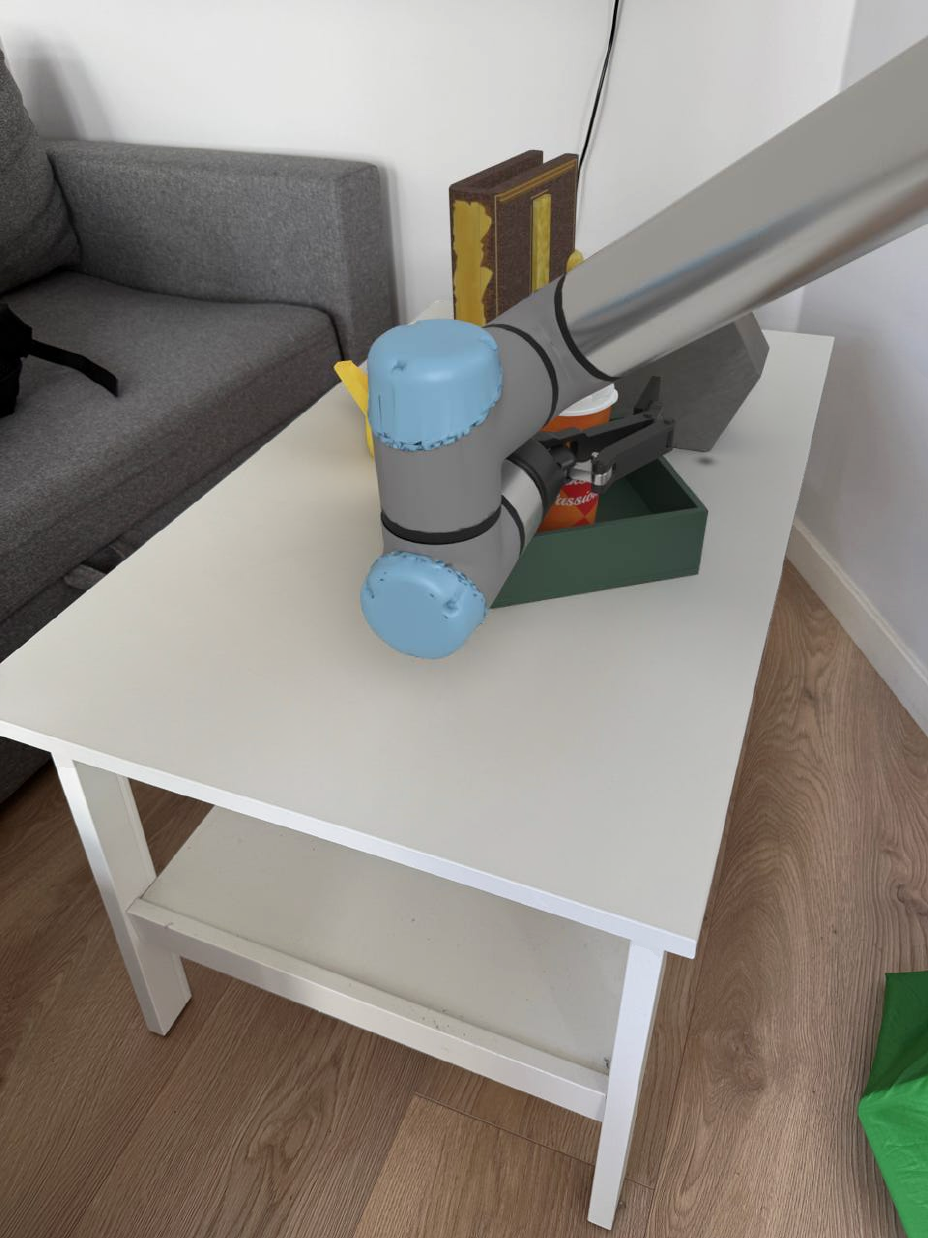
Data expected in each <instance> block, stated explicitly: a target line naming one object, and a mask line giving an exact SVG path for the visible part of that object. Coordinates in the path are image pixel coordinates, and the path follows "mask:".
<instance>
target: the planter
mask: <svg viewBox="0 0 928 1238" xmlns="http://www.w3.org/2000/svg"><path fill="white" fill-rule="evenodd" d="M769 351H770V346H769V343H768V341H767V339H766V337H765V335H764V333H763V331H762V329H761V327H760V324H759V323H758V320H757V318H756V316H755V314H754V311H753V312H751V313H749V314H747V315H745V316H743V317H741V318H739V319H737V320H735V321H733V322H731V323H729V324H727V325H725V326H723V327H721V328H719V329H717V330H715V331H713V332H711V333H709V334H707V335H705V336H703V337H701V338H699V339H697V340H695V341H693V342H691V343H689V344H687V345H685V346H683V347H681V348H679V349H677V350H675V351H673V352H671V353H669V354H667V355H665V356H663V357H661V358H659V359H657V360H655V361H653V362H651V363H649V364H647V365H645V366H643V367H641V368H639V369H637V370H635V371H633V372H631V373H630V374H628V375H626V376H625V377H623V378H622V379H620V380H618V381H616V382H614V383H613V384H614V389H615V390H616V391H617V393H618V399H617V401H616V402H615V403H613V404H612V405H611V410H610V415H615V414H622V413H628V414H629V415H630V416H632V415H633V412H634V407H635V405H636V403H637V401H638V400H639V398H640V396H641V394H642V393H643V391H644V389H645V387H646V386H647V384H648V382H649V381H650V379H651V377H652V376H658V377H661V380H660V390H659V400H658V401H662V402H663V404H664V405H663V414H662V419H664V418H671V419H674V420H675V421H676V424H675V433H674V441H673V448H677V449H685V450H691V451H695V452H696V451H698V452H704V453H707V452H710V451H711V450H712V449H713V448H714V446H715V444H716V443H717V441H718V440H719V439H720V437H721V436H722V434H723V433H724V431H725V430H726V428H727V427H728V426H729V424H730V423H731V421H732V420H733V418H734V417H735V416H736V414H737V412H738V411H739V410H740V409H741V407H742V405H743V403H745V401H746V399H747V398H748V396H749V395H750V394H751V392H752V391H753V389H754V388H755V387H756V385H757V383H758V382H759V380H760V379H761V378H762V374H763V370H764V368H765V365H766V361H767V358H768V355H769Z"/></svg>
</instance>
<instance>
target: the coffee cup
mask: <svg viewBox="0 0 928 1238" xmlns="http://www.w3.org/2000/svg"><path fill="white" fill-rule="evenodd" d="M617 399H618V393H617V391H616V390H615V389H614V384H611V385H609V386H607V387H605V388H603V389H601V390H599V391H597V392H595V393H593V394H591V395H589V396H587V397H585V398H583V399H581V400H580V401H578V402H576V403H575V404H573V405H571V406H570V407H568V408H567V409H566V410H564V411H563V412H562V413H560V414H559V415H558V416H556V417H555V418H554V419H553V420H551V421H550V422H549V423H548V424H547V425H546V426H545V427H543V428H542V429H541V430H540V431H549V432H556V431H560V430H563V429H567V428H570V427H577V428H579V429H580V430H583V429H587V428H590V427H594V426H597V425H601V424H604V423H608V422H609V417H610V410H611V405H612V404H613V403H615V402H616V401H617ZM566 445H567V446H568V447H570V442H568V443H566ZM598 498H599V494H595V493H593V492H591V483H590V482H585V481H581V480H577V479H573V481H571V482H570V483H568V484H566V485H564V486H563V487H562V488H561V490H560V492H559V494H558V496H557V498H556V500H555V502H554V504H553V505H552V507H551V508H550V510H549V512H548V513H547V515H546V517H545V518H544V520H543V521H542V523H541V524H540V525H539V527H538V529H537V531H536V532H535V533H537V532H543V531H549V530H556V529H562V528H569V527H575V526H582V525H588V524H594V523H595V517H596V511H597V505H598Z"/></svg>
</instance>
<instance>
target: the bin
mask: <svg viewBox="0 0 928 1238" xmlns="http://www.w3.org/2000/svg"><path fill="white" fill-rule="evenodd" d="M628 416H630V415H629V414H628V413H622V414H615V415H610V417H609V422H611V421H614V420H618V419H621V418H625V417H628ZM708 515H709V509H708V508H707V507H706V505H704V503H703V502H702V501H701V500H700V498H699V497H698V496H697V494H695V492H694V491H693V489H691V487H690V486H689V485H688V484H687V482H686V481H685V480H684V479H683V477H682V476H681V475H680V474H679V472H678V471H677V470H676V469H675V468H674V467H673V465H672V464H671V463H670V462H669V461H668V459H667V458H666V457H665V455H663V456H661V457H659V458H657V459H655V460H653V461H652V462H650V463H648V464H646V465H644V466H642V467H640V468H639V469H637V470H635V471H633V472H631V473H629V474H627V475H625V476H624V477H622V478H620V479H618V480H616V481H614V482H613V484H612V485H611V486H610V487H609V489H608V490H607V491H606V492H605V493H603V494H599V498H598V505H597V511H596V517H595V523H594V524H588V525H582V526H575V527H569V528H562V529H556V530H549V531H543V532H537V533H535V534H534V536H533V537H532V539H531V540H530V542H529V544H528V545H527V547H526V549H525V550H524V552H523V553H522V555H521V556H520V558H519V559H518V561H517V562H516V564H515V566H514V567H513V569H512V571H511V573H510V574H509V576H508V578H507V579H506V581H505V583H504V584H503V586H502V588H501V590H500V591H499V593H498V595H497V596H496V598H495V600H494V602H493V603H492V605H491V607H490V608H489V609H498V608H504V607H510V606H517V605H522V604H527V603H532V602H533V603H534V602H539V601H540V602H541V601H546V600H551V599H557V598H563V597H569V596H570V597H571V596H575V595H576V596H577V595H581V594H587V593H588V594H589V593H593V592H601V591H606V590H611V589H618V588H623V587H629V586H630V587H631V586H635V585H641V584H648V583H653V582H659V581H660V582H661V581H665V580H666V581H667V580H670V579H678V578H683V577H688V576H689V577H690V576H697V575H699V574H700V573H699V572H700V566H701V562H702V561H701V560H702V553H703V549H704V542H705V535H706V529H707V524H708V523H707V522H708Z"/></svg>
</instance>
